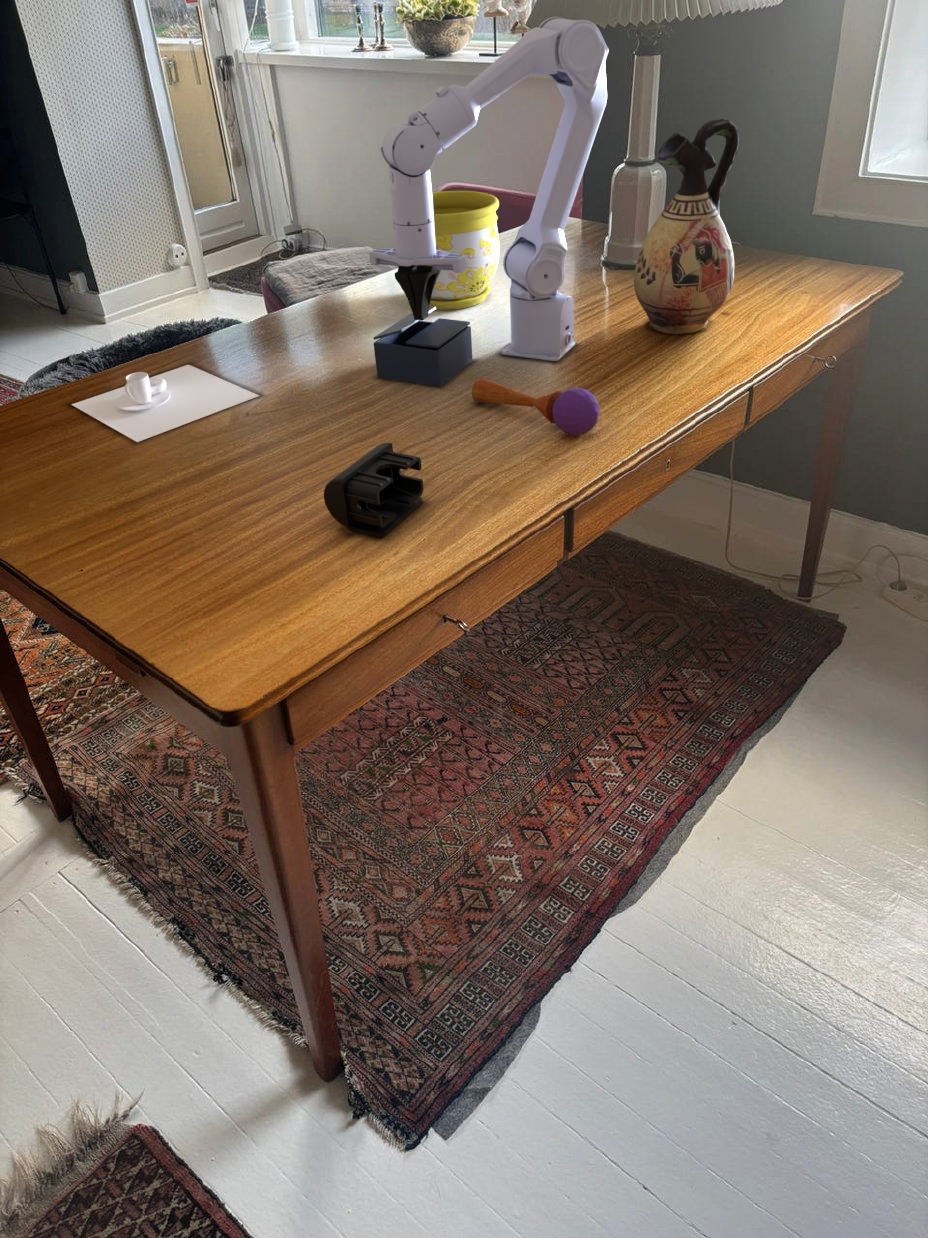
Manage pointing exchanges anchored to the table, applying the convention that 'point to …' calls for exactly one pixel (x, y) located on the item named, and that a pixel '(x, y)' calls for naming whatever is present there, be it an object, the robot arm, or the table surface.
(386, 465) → the end cap
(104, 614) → the table surface
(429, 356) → the carton
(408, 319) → the flap
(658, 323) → the ceramic jug
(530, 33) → the robot arm
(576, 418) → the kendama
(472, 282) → the flowerpot
